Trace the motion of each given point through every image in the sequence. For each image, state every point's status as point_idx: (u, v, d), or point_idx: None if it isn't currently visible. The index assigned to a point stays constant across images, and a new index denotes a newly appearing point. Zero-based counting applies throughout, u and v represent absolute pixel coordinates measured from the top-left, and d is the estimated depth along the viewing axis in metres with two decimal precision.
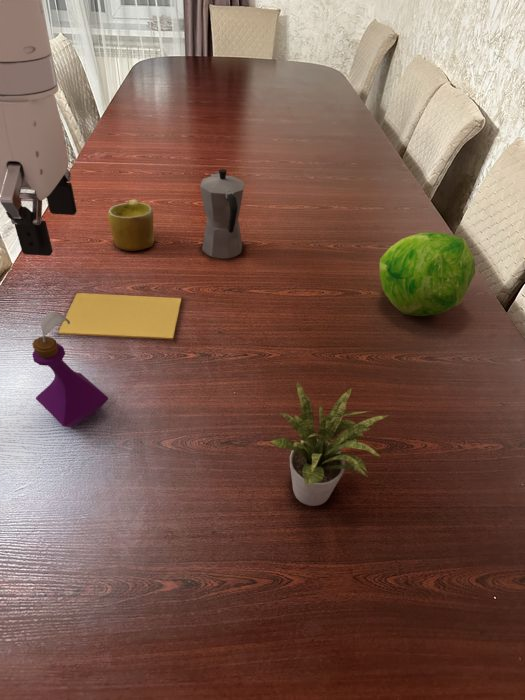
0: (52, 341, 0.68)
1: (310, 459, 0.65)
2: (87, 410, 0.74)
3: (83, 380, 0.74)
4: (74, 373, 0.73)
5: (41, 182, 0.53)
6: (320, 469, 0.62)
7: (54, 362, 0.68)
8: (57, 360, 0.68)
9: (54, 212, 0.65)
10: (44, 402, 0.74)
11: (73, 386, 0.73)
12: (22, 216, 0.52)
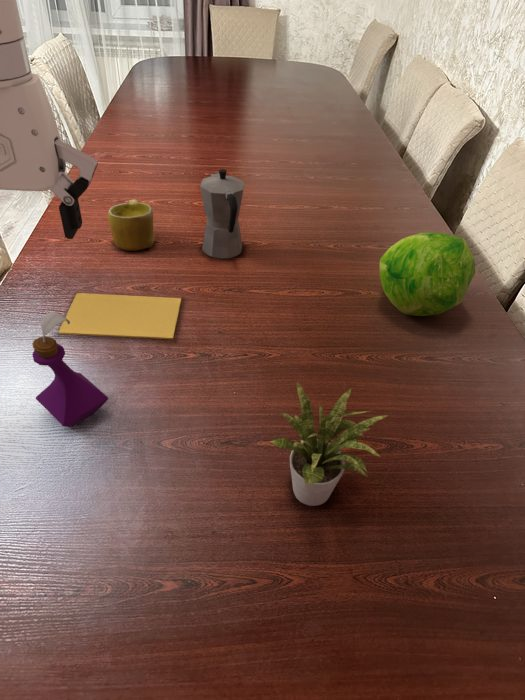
0: (52, 341, 0.68)
1: (310, 459, 0.65)
2: (87, 410, 0.74)
3: (83, 380, 0.74)
4: (74, 373, 0.73)
5: None
6: (320, 469, 0.62)
7: (54, 362, 0.68)
8: (57, 360, 0.68)
9: None
10: (44, 402, 0.74)
11: (73, 386, 0.73)
12: None
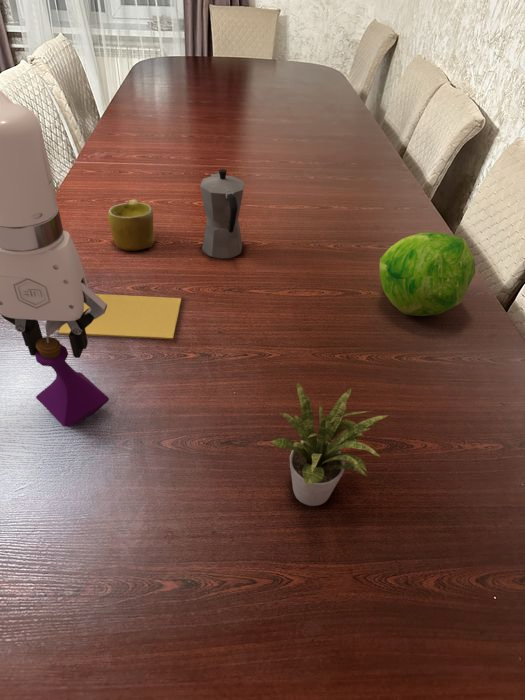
0: (56, 342, 0.67)
1: (310, 459, 0.65)
2: (88, 411, 0.74)
3: (84, 380, 0.74)
4: (76, 373, 0.73)
5: None
6: (320, 469, 0.62)
7: (57, 363, 0.67)
8: (60, 361, 0.68)
9: None
10: (45, 402, 0.74)
11: (74, 386, 0.72)
12: None
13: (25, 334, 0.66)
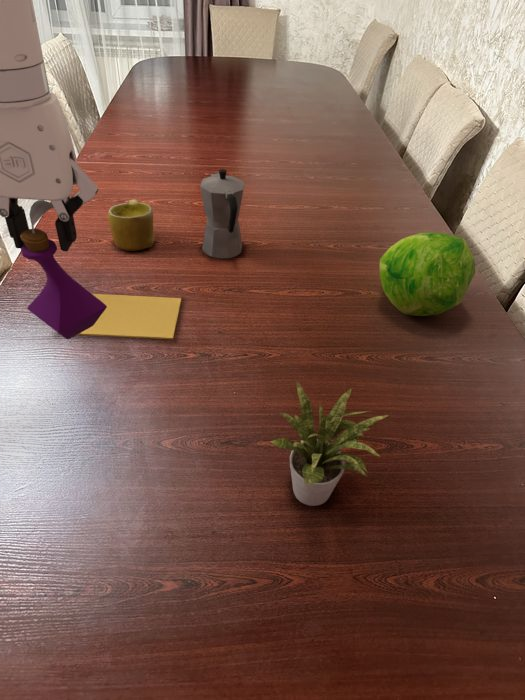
0: (42, 233, 0.61)
1: (310, 459, 0.65)
2: (84, 317, 0.68)
3: (78, 284, 0.67)
4: (68, 275, 0.66)
5: None
6: (320, 469, 0.62)
7: (45, 256, 0.61)
8: (48, 254, 0.61)
9: (23, 244, 0.62)
10: (37, 311, 0.68)
11: (67, 289, 0.66)
12: None
13: (9, 220, 0.59)
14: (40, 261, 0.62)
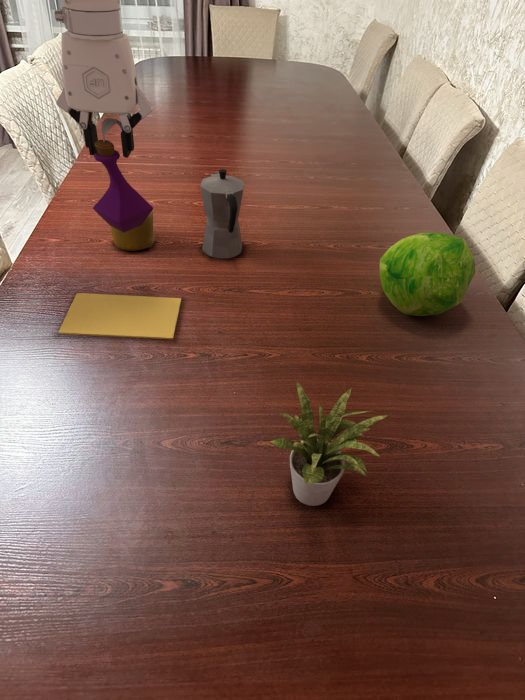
0: (110, 142, 0.82)
1: (310, 459, 0.65)
2: (137, 214, 0.89)
3: (133, 188, 0.89)
4: None
5: None
6: (320, 469, 0.62)
7: (112, 159, 0.82)
8: (114, 158, 0.82)
9: None
10: (101, 209, 0.89)
11: (125, 191, 0.87)
12: None
13: (87, 131, 0.81)
14: (107, 165, 0.83)
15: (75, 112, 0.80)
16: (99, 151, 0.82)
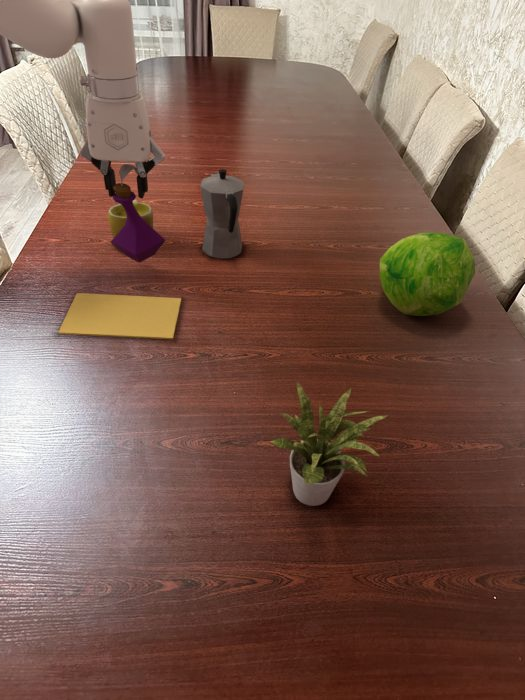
0: (127, 185, 0.93)
1: (310, 459, 0.65)
2: (151, 246, 1.00)
3: None
4: (140, 217, 0.98)
5: None
6: (320, 469, 0.62)
7: (129, 200, 0.93)
8: (131, 199, 0.93)
9: (113, 194, 0.94)
10: (119, 242, 1.00)
11: (140, 226, 0.98)
12: None
13: (107, 176, 0.91)
14: (125, 205, 0.94)
15: (96, 160, 0.90)
16: (118, 193, 0.92)
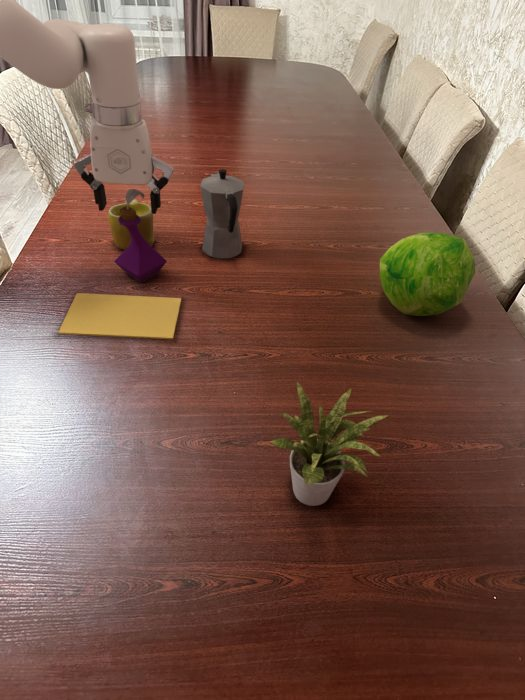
0: (132, 209, 0.96)
1: (310, 459, 0.65)
2: (153, 267, 1.03)
3: (150, 245, 1.03)
4: (144, 239, 1.01)
5: None
6: (320, 469, 0.62)
7: (134, 224, 0.96)
8: (136, 223, 0.96)
9: (103, 208, 0.96)
10: (122, 262, 1.03)
11: (143, 248, 1.01)
12: None
13: (97, 191, 0.93)
14: (130, 227, 0.97)
15: (86, 176, 0.92)
16: (123, 217, 0.96)
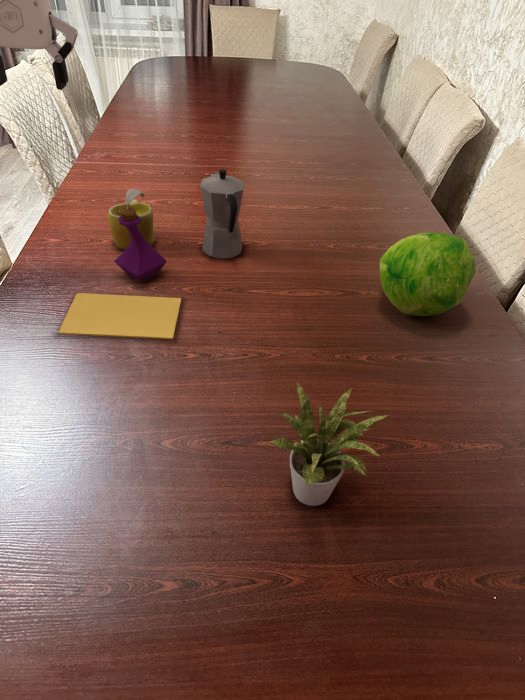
0: (132, 209, 0.96)
1: (310, 459, 0.65)
2: (153, 267, 1.03)
3: (150, 245, 1.03)
4: (144, 239, 1.01)
5: (53, 26, 0.81)
6: (320, 469, 0.62)
7: (134, 224, 0.96)
8: (136, 223, 0.96)
9: (1, 83, 0.84)
10: (122, 262, 1.03)
11: (143, 248, 1.01)
12: (73, 46, 0.82)
13: None
14: (130, 227, 0.97)
15: None
16: (123, 217, 0.96)
